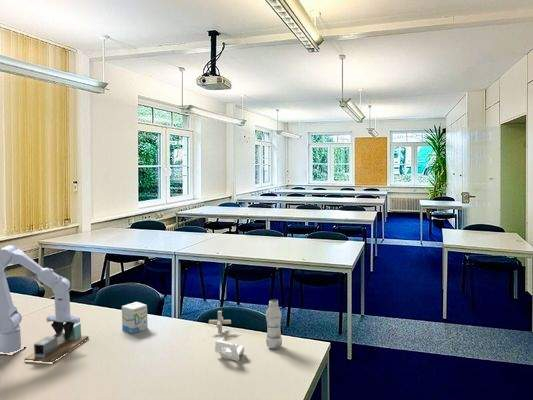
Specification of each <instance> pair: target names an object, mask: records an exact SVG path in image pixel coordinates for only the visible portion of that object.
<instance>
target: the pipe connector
mask: <svg viewBox="0 0 533 400" xmlns="http://www.w3.org/2000/svg"><path fill="white" fill-rule="evenodd" d="M222 315H223V310H218V311H217V319H209V320H208V324H209V325H216V328H217V331H218V332H217V333H218V334H222V333H223V325H229V324H230V325H232V320H231V319H224V316H222Z"/></svg>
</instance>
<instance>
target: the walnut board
mask: <svg viewBox="0 0 533 400" xmlns="http://www.w3.org/2000/svg"><path fill="white" fill-rule="evenodd" d="M87 339H88V340H89V335H81V337H79V338H78V339H76V340H64V341H62V342H61V343H59V344H58V351H56V352H55V353H53V354H52V355H50V356H49V357H47V358H46V359H41V358H35V355H34V352H32V353H31V354H29V355H28V356H26V357H24V361H25V360H33V361H42V362H53V361H55V360H56V359H58V358H60V357H61V356H63V355H64V354H66V353H68V352H69V351H70V350H72V349H73V348H75V347H76V346H78V345H79V344H81V343H82V342H84V341H85V340H87ZM88 340H87V341H88ZM85 342H86V341H85ZM85 342H84V343H85ZM82 344H83V343H82ZM82 344H81V345H82ZM78 347H79V346H78ZM75 349H76V348H75ZM72 351H73V350H72ZM69 353H70V352H69ZM69 353H68V354H69ZM66 355H67V354H66ZM63 357H64V356H63Z"/></svg>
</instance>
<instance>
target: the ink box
mask: <svg viewBox="0 0 533 400" xmlns="http://www.w3.org/2000/svg"><path fill="white" fill-rule="evenodd" d="M121 321H122V322H121V325H122V327H121V328H122V329H121V330H122V331H124V332H127V333H128V334H136V332H137V333H139V332H141V330H142V331H144V329H145V330H147V329H148V326H149V325H148V305H147V304H145V303H142V302H139V301H133V302H132V303H127V304H125V305H122V306H121Z"/></svg>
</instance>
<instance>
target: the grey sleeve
mask: <svg viewBox="0 0 533 400" xmlns="http://www.w3.org/2000/svg"><path fill="white" fill-rule="evenodd" d="M33 351H34V352H33V353H34V355H35V358H41V359H46V358H47V357H49V356H50V355H52V354H53V353H55V352H56V351H58V345H57V337H52V336H50V335H49V336H48V335H47V336H45V337H44V338H42V339H39V340H38V341H36V342H35V343H33Z"/></svg>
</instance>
